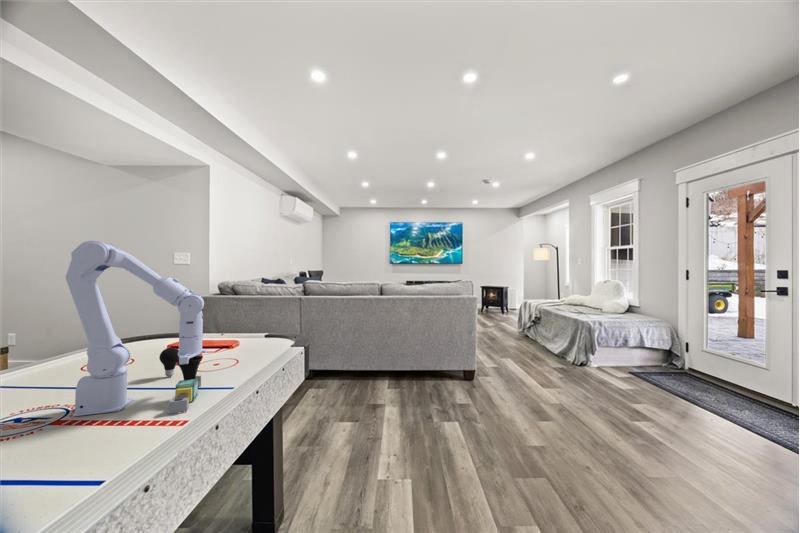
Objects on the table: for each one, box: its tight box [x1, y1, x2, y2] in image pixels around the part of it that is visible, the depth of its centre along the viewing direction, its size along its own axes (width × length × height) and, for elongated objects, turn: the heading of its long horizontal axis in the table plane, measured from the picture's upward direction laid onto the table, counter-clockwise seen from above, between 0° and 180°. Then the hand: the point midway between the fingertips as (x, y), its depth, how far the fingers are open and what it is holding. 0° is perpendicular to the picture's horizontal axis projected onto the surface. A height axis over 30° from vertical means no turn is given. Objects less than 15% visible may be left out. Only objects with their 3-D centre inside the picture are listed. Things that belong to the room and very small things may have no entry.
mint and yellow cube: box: [174, 379, 199, 402], centre depth 88 cm, size 4×4×5 cm
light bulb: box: [159, 347, 179, 378], centre depth 108 cm, size 6×6×10 cm
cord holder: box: [167, 374, 203, 415], centre depth 90 cm, size 21×4×4 cm, turn 21°
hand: (189, 382), depth 91 cm, fingers closed
